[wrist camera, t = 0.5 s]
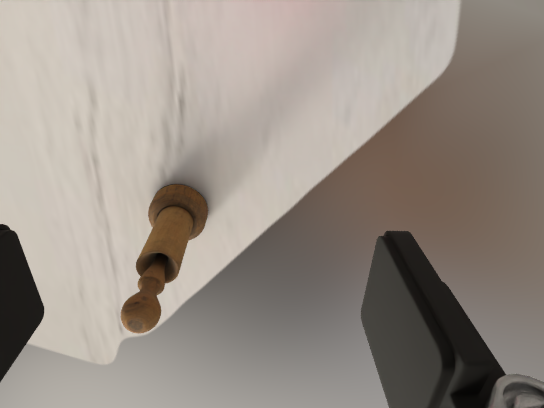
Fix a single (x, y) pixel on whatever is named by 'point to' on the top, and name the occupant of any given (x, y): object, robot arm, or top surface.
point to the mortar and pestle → (163, 251)
